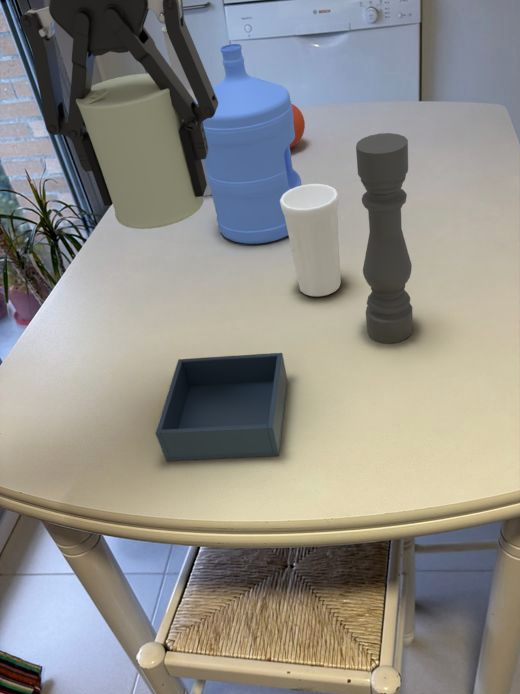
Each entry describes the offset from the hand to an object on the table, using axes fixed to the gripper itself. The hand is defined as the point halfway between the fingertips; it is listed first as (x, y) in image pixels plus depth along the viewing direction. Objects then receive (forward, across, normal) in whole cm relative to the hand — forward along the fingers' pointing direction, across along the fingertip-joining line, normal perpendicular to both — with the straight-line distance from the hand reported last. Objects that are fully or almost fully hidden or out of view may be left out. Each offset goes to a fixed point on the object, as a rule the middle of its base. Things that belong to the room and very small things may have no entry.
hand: (156, 195), depth 66 cm
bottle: (+26, +10, -60) cm, 66 cm away
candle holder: (+26, -24, -9) cm, 36 cm away
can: (+2, 0, 0) cm, 2 cm away
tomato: (+26, -5, -77) cm, 81 cm away
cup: (+26, -14, -21) cm, 36 cm away
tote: (+25, -3, +7) cm, 27 cm away
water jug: (+26, -3, -43) cm, 50 cm away
